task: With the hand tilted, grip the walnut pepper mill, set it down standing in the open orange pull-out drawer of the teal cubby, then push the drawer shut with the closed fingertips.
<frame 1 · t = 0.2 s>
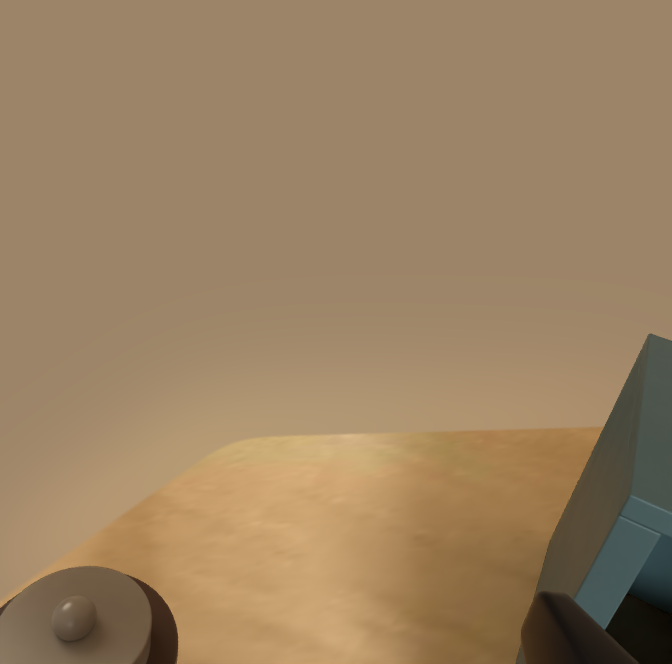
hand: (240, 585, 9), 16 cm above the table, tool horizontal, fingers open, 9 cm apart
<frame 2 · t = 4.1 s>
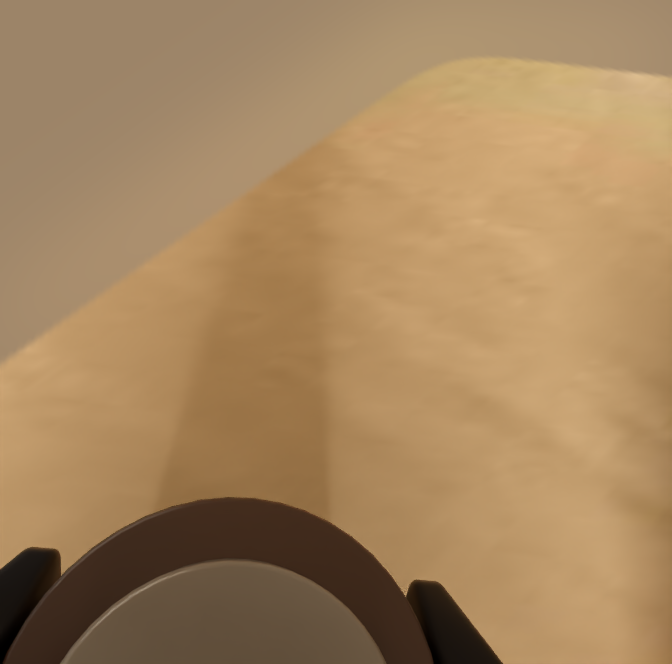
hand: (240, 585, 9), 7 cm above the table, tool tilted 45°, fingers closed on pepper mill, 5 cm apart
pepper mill: (228, 631, 14), on the table, touching gripper
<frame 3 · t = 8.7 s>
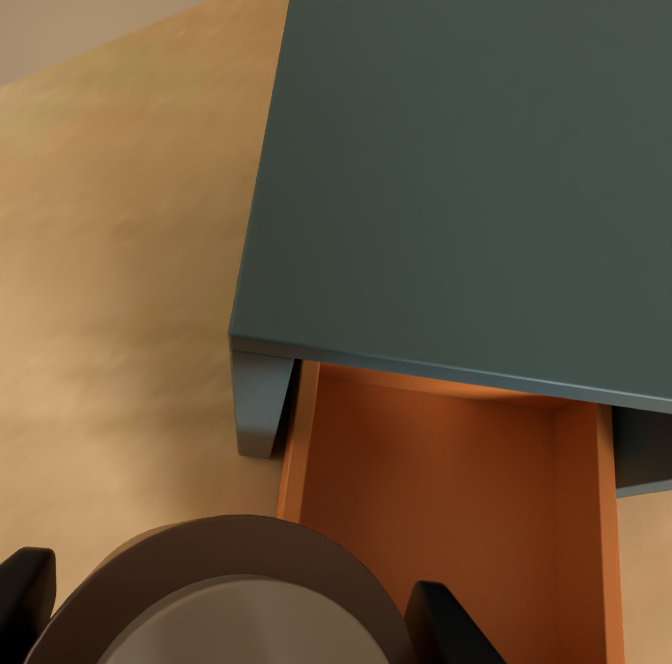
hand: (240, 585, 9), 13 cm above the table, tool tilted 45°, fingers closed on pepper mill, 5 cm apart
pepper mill: (177, 632, 15), point 6 cm above the table, tilted 10°, touching gripper
drawer: (452, 553, 18), point 4 cm above the table, slide at 7.7 cm
cubby: (430, 321, 25), on the table
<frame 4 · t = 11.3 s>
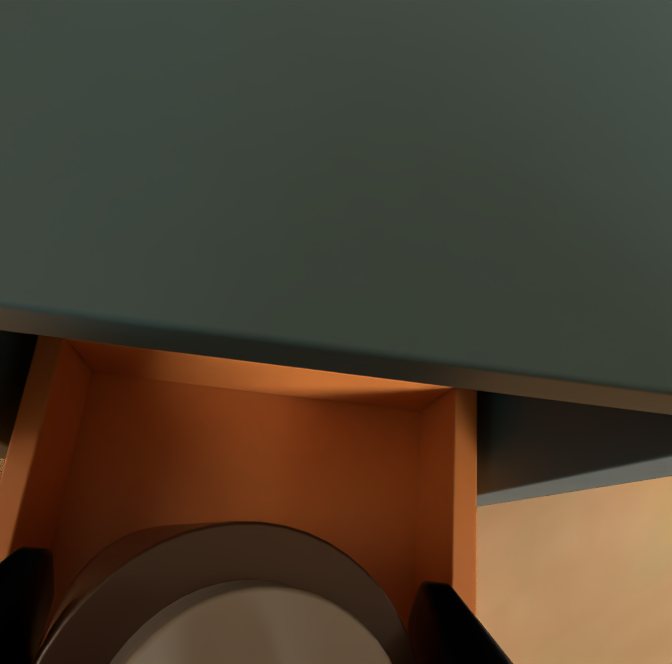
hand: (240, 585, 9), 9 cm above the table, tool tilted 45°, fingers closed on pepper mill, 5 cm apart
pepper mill: (162, 634, 15), point 2 cm above the table, tilted 12°, touching drawer, gripper
drawer: (233, 624, 13), point 4 cm above the table, slide at 8.3 cm, touching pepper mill
cubby: (275, 282, 20), on the table
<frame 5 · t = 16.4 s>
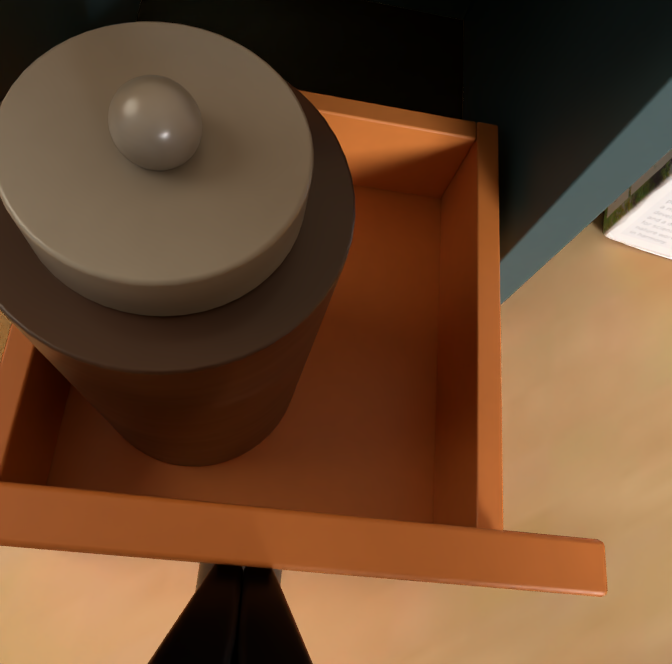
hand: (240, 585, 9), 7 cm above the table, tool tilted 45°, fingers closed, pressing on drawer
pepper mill: (199, 369, 16), point 1 cm above the table, touching drawer
syrup box: (670, 198, 22), on the table
drawer: (273, 318, 14), point 4 cm above the table, slide at 7.9 cm, touching gripper, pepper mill
cubby: (297, 106, 21), on the table
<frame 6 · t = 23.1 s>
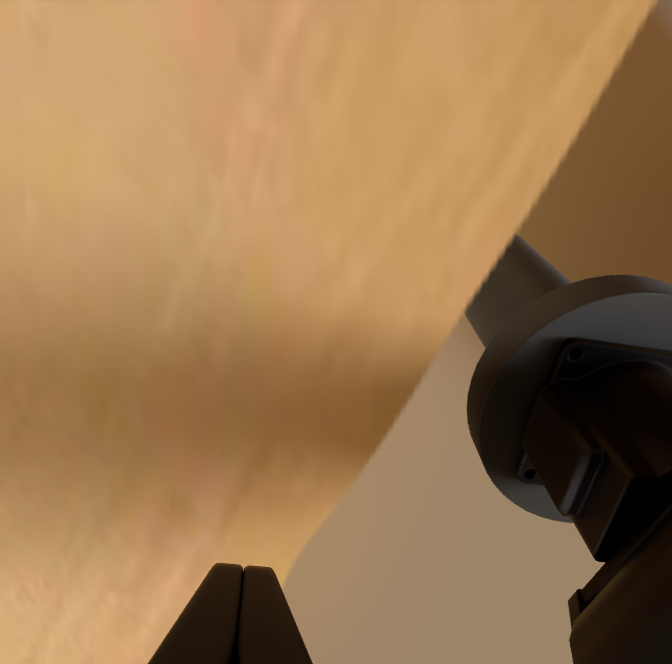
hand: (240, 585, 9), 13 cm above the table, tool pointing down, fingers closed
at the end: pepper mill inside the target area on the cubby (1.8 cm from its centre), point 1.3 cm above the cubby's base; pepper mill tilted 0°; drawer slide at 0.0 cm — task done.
